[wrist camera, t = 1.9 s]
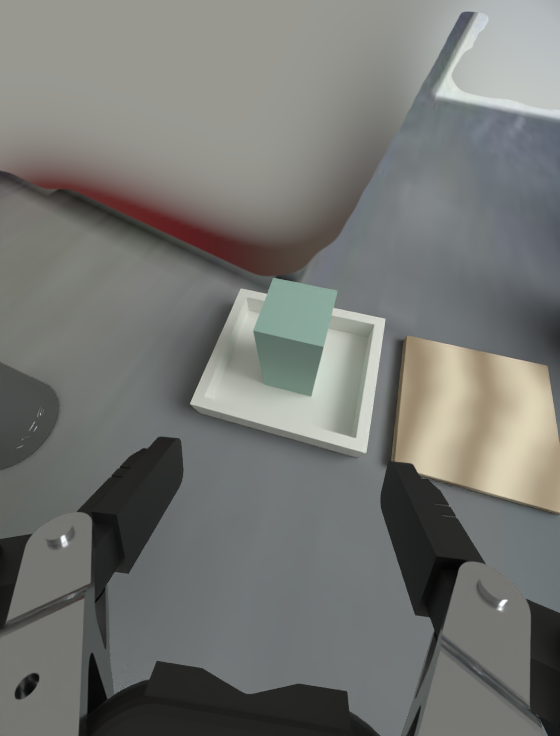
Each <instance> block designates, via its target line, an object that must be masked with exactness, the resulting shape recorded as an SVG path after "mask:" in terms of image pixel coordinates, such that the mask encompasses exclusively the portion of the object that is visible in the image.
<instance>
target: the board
mask: <svg viewBox="0 0 560 736" xmlns="http://www.w3.org/2000/svg"><path fill="white" fill-rule="evenodd" d="M391 461H395V462H405V463H412V464H413V465H414V467H415V469H416V470H417V472H418V474H419V475H420V476H423V477H427V478H431V479H434V480H438V481H441V482H445V483H448V484H452V485H455V486H459V487H462V488H466V489H469V490H473V491H476V492H480V493H483V494H487V495H491V496H494V497H498V498H501V499H505V500H508V501H512V502H515V503H519V504H522V505H526V506H529V507H533V508H536V509H540V510H543V511H547V512H551V513H554V514H558V515H560V445H559V438H558V431H557V425H556V418H555V412H554V405H553V399H552V392H551V385H550V379H549V372H548V366H546V365H541V364H536V363H532V362H527V361H523V360H518V359H513V358H509V357H504V356H499V355H495V354H490V353H486V352H481V351H476V350H472V349H467V348H462V347H458V346H453V345H448V344H444V343H439V342H435V341H430V340H425V339H421V338H416V337H411V336H406V338H405V339H404V341H403V351H402V360H401V370H400V379H399V389H398V399H397V408H396V418H395V428H394V437H393V447H392V456H391Z"/></svg>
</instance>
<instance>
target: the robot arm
mask: <svg viewBox="0 0 560 736" xmlns="http://www.w3.org/2000/svg"><path fill="white" fill-rule="evenodd" d="M57 414H58V400H57V397H56V394H55V392H54V391H53V390H52V388H51V387H50V386H48V385H47V384H45V383H43V382H41V381H39V380H37V379H35V378H33V377H31V376H28V375H26V374H24V373H22V372H20V371H18V370H16V369H13V368H12V367H10V366H7V365H5V364H3V363H1V362H0V469H3V468H6V467H9V466H12V465H14V464H16V463H18V462H20V461H22V460H24V459H25V458H26V457H28V456H29V455H30V454H32V453H33V452H34V451H35V450H36V449H37V448H38V447H39V446H40V445H41V444H42V443H43V442H44V440H45V439H46V438H47V436H48V435H49V434H50V432H51V430H52V428H53V426H54V424H55V421H56V418H57ZM182 478H183V458H182V446H181V440H180V439H179V438H170V437H158V438H157V439H156V440H155V441H154V442H153V443H152V445H151V446H150V447H149V448H148V449H145V448H143V449H141V450H140V451H138V452H136V453H135V454H133V455H131V456H130V457H129V458H128V459H127V460H126V461H125V462H124V463H123V464H122V465H121V466H120V468H119V469H117V470H116V471H115V472H114V473H113V474H112V477H111V478H109V479H108V480H107V481H106V482H105V483H104V484H103V485H102V486H101V487H100V488H99V489H98V490H97V491H96V492H95V493H94V494H93V495H92V496H91V497H90V498H89V499H88V500H87V502H86V503H85V504H84V505H83V506H82V507H81V508H80V509H79V510H78V511H77V512H73V513H68V514H64V515H61V516H59V517H56V518H54V519H52V520H50V521H49V522H47V523H45V524H44V525H43V526H41V527H40V528H39V529H38V530H37V531H36V532H35V533H34V534H29V535H23V536H17V537H11V538H5V539H0V736H380V735H379V734H378V733H377V732H376V731H375V730H374V729H373V728H372V727H371V726H370V725H368V724H367V723H366V722H364V721H363V720H362V719H360V718H359V717H358V716H356V715H355V714H353V713H351V712H350V711H349V705H348V695H347V691H341V690H335V689H329V688H323V687H316V686H310V685H304V684H295V685H291V686H286V687H282V688H277V689H273V690H268V691H264V692H259V693H255V694H245V693H243V692H241V691H239V690H238V689H236V688H234V687H233V686H231V685H229V684H228V683H226V682H224V681H222V680H221V679H219V678H217V677H216V676H214V675H212V674H211V673H209V672H207V671H206V670H204V669H202V668H198V667H191V666H185V665H179V664H173V663H166V662H160V661H157V662H156V664H155V667H154V670H153V672H152V675H151V677H150V679H149V680H144V681H141V682H139V683H136V684H134V685H131V686H129V687H127V688H125V689H123V690H121V691H120V692H118V693H116V694H115V695H114V689H113V679H112V672H111V664H110V644H109V609H108V586H107V583H108V581H109V580H110V578H111V577H112V575H113V574H114V572H120V573H127V574H129V572H130V570H131V568H132V567H133V565H134V563H135V562H136V560H137V558H138V557H139V555H140V553H141V551H142V550H143V548H144V546H145V545H146V543H147V541H148V540H149V538H150V536H151V534H152V533H153V531H154V529H155V528H156V526H157V524H158V523H159V521H160V519H161V517H162V516H163V514H164V512H165V511H166V509H167V507H168V506H169V504H170V502H171V501H172V499H173V497H174V495H175V494H176V492H177V490H178V489H179V487H180V485H181V482H182ZM381 509H382V513H383V516H384V519H385V523H386V526H387V529H388V532H389V535H390V538H391V541H392V544H393V547H394V551H395V554H396V557H397V560H398V563H399V566H400V569H401V572H402V576H403V579H404V582H405V585H406V588H407V591H408V594H409V597H410V601H411V604H412V607H413V610H414V613H415V615H417V616H425V617H430V619H431V622H432V624H433V627H434V632H433V634H432V637H431V640H430V644H429V647H428V650H427V654H426V657H425V660H424V664H423V667H422V671H421V674H420V677H419V681H418V684H417V687H416V691H415V694H414V698H413V701H412V704H411V707H410V710H409V714H408V716H407V719H406V722H405V725H404V728H403V731H402V734H401V736H543V731H542V725H541V722H542V724H543V726H544V728H545V730H546V732H547V735H548V736H560V613H558V612H556V611H554V610H551V609H549V608H546V607H544V606H541V605H539V604H537V603H534V602H532V601H530V600H528V599H525V597H524V596H523V594H522V593H521V592H520V590H519V589H518V588H517V587H516V586H515V585H514V584H513V583H512V582H511V581H510V580H509V579H508V578H507V577H506V576H504V575H503V574H502V573H500V572H499V571H497V570H496V569H494V568H492V567H490V566H488V565H486V564H485V562H484V561H483V559H482V557H481V556H480V554H479V552H478V551H477V549H476V548H475V546H474V544H473V543H472V541H471V540H470V538H469V536H468V535H467V533H466V531H465V530H464V528H463V527H462V525H461V523H460V522H459V520H458V519H457V518H456V515H455V514H454V512H453V510H452V509H451V507H449V504H448V502H447V501H446V499H445V498H444V496H443V494H442V493H441V491H440V490H439V489H438V488H437V487H435V486H434V485H433V484H432V483H431V482H430V481H429V480H428V479H421V477H420V476H419V474H418V472H417V470H416V469H415V467H414V465H413V464H412V463H405V462H395V461H390V462H389V463H388V465H387V470H386V474H385V478H384V482H383V487H382V491H381ZM537 715H538V716H539V717H538V716H537ZM539 718H540V719H539ZM540 720H541V722H540Z"/></svg>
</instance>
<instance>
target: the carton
mask: <svg viewBox="0 0 560 736" xmlns="http://www.w3.org/2000/svg"><path fill="white" fill-rule="evenodd" d="M336 295H337V291H336V290H331V289H326V288H321V287H316V286H311V285H306V284H301V283H296V282H291V281H286V280H281V279H276V278H273V280H272V283H271V286H270V288H269V291H268V293H267V296H266V299H265V301H264V304H263V306H262V309H261V311H260V314H259V317H258V319H257V322H256V324H255V327H254V330H253V333H254V338H255V342H256V347H257V352H258V357H259V362H260V367H261V372H262V377H263V382H264V384H265V385H268V386H272V387H276V388H280V389H284V390H288V391H292V392H296V393H299V394H303V395H307V396H312V392H313V388H314V384H315V380H316V376H317V372H318V368H319V364H320V360H321V356H322V352H323V348H324V344H325V340H326V336H327V332H328V328H329V324H330V320H331V315H332V311H333V307H334V303H335V299H336Z"/></svg>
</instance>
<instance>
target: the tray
mask: <svg viewBox="0 0 560 736" xmlns="http://www.w3.org/2000/svg"><path fill="white" fill-rule="evenodd" d="M266 296H267V294H264V293H260V292H255V291H250V290H245V289H240V292H239V294H238V296H237V298H236V301H235V303H234V305H233V307H232V310H231V312H230V314H229V317H228V319H227V321H226V323H225V326H224V328H223V330H222V332H221V335H220V337H219V339H218V341H217V344H216V346H215V348H214V350H213V353H212V355H211V357H210V359H209V362H208V364H207V366H206V368H205V371H204V373H203V375H202V377H201V380H200V382H199V384H198V386H197V389H196V391H195V393H194V396H193V398H192V400H191V402H190V405H191V406H193V407H194V408H195V409H196V410H197V411H198V412H199V413H201V414H205V415H208V416H212V417H215V418H219V419H222V420H226V421H229V422H233V423H236V424H240V425H243V426H247V427H251V428H254V429H258V430H261V431H265V432H268V433H272V434H275V435H279V436H282V437H286V438H289V439H293V440H296V441H300V442H303V443H307V444H311V445H314V446H318V447H321V448H325V449H328V450H332V451H335V452H339V453H342V454H346V455H349V456H353V457H356V458H358V457H360V456H362V455H364V454H366V451H367V444H368V437H369V430H370V423H371V416H372V409H373V402H374V395H375V388H376V381H377V374H378V367H379V360H380V353H381V346H382V339H383V332H384V325H385V319H384V318H379V317H374V316H369V315H364V314H360V313H355V312H350V311H345V310H341V309H336V308H333V311H332V315H331V320H330V324H329V328H328V332H327V336H326V340H325V344H324V348H323V352H322V356H321V360H320V364H319V368H318V372H317V376H316V380H315V384H314V388H313V392H312V396H307V395H303V394H299V393H296V392H292V391H288V390H284V389H280V388H276V387H272V386H268V385H265V384H264V382H263V377H262V372H261V367H260V362H259V357H258V352H257V347H256V342H255V338H254V333H253V330H254V327H255V324H256V322H257V319H258V317H259V314H260V311H261V309H262V306H263V304H264V301H265V299H266Z"/></svg>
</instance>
